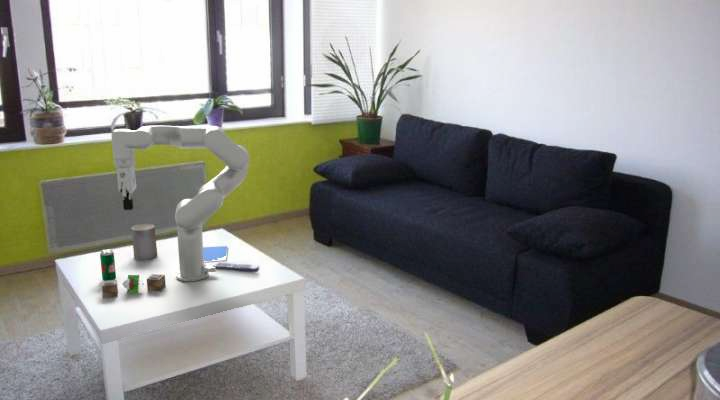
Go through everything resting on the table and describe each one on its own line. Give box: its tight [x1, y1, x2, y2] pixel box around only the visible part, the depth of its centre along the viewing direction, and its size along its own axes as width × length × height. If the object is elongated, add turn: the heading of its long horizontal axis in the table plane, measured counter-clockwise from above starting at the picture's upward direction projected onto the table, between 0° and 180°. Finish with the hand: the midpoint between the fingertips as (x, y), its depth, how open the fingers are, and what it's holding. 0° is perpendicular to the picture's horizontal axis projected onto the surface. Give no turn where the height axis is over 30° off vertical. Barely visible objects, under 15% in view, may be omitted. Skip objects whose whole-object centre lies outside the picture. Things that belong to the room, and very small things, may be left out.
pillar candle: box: [131, 223, 158, 261], centre depth 279 cm, size 10×10×15 cm
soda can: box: [99, 248, 117, 281], centre depth 252 cm, size 5×5×12 cm
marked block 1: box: [101, 279, 119, 299], centre depth 238 cm, size 5×5×5 cm
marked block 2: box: [146, 273, 167, 293], centre depth 244 cm, size 5×5×5 cm
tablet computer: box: [203, 245, 229, 261], centre depth 283 cm, size 19×13×1 cm, turn 10°
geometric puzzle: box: [121, 274, 145, 294], centre depth 241 cm, size 7×7×8 cm
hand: (128, 209), depth 245 cm, fingers closed
